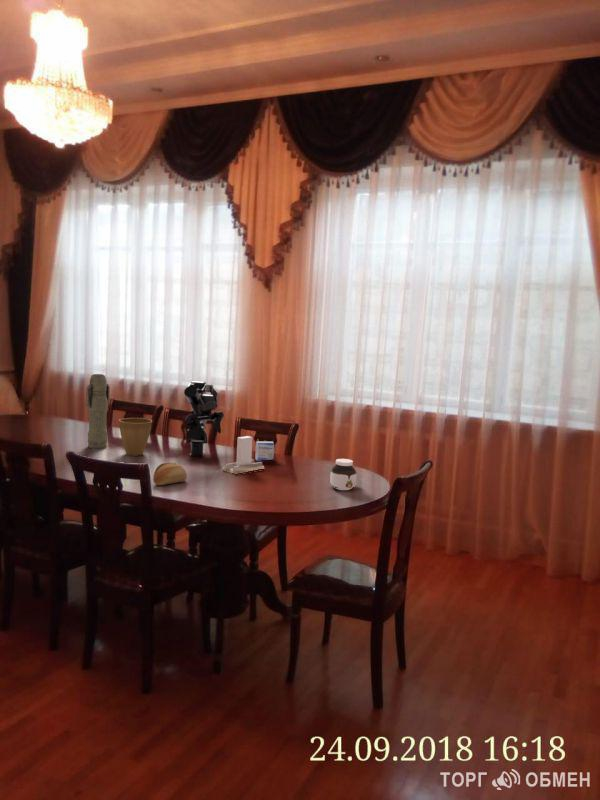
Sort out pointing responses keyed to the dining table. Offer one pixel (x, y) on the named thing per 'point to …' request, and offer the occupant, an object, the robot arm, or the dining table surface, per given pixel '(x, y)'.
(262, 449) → the medicine box
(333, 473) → the spread jar
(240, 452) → the door panel
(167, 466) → the bread roll
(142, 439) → the plant pot
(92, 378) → the stone statue
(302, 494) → the dining table surface
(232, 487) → the dining table surface
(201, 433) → the robot arm
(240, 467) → the track base
